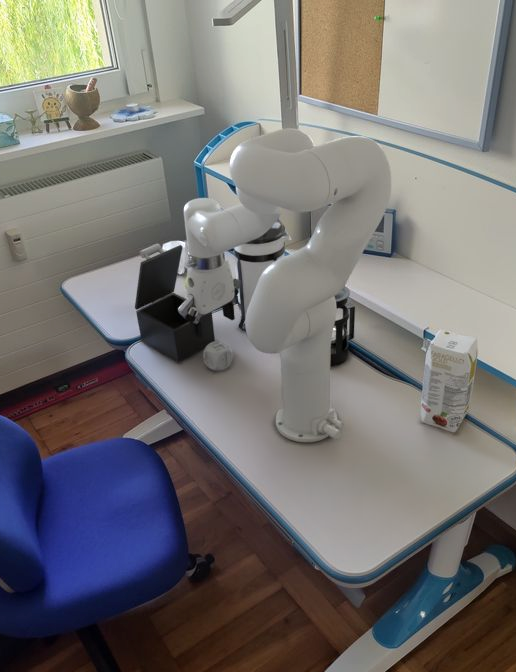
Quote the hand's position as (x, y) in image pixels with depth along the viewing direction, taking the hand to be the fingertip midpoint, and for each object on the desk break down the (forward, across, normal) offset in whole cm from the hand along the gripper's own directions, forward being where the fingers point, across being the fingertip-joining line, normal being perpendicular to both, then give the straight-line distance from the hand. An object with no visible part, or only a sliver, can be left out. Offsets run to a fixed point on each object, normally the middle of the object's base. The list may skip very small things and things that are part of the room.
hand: (213, 326), depth 148 cm
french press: (+10, +20, -18) cm, 29 cm away
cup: (+11, +24, +43) cm, 51 cm away
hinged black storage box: (+11, 0, +14) cm, 18 cm away
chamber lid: (-5, 0, +18) cm, 19 cm away
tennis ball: (+11, +19, +28) cm, 36 cm away
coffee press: (+11, +20, +6) cm, 23 cm away
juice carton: (+9, +17, -50) cm, 53 cm away
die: (+10, 0, -1) cm, 10 cm away
